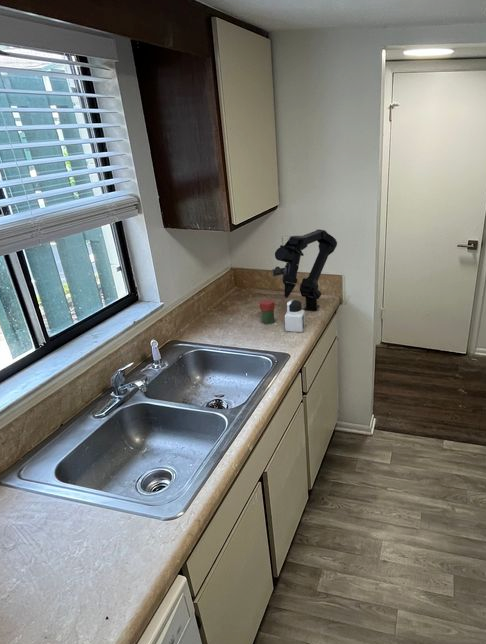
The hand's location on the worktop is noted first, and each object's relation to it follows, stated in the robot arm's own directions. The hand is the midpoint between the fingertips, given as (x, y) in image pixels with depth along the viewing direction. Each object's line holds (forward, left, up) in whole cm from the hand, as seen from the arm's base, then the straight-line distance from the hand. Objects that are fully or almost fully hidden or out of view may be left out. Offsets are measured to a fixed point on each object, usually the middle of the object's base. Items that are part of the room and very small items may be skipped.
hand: (285, 297), depth 200 cm
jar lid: (+2, -9, -5) cm, 10 cm away
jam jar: (+2, -9, -12) cm, 15 cm away
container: (+6, +6, -12) cm, 15 cm away
